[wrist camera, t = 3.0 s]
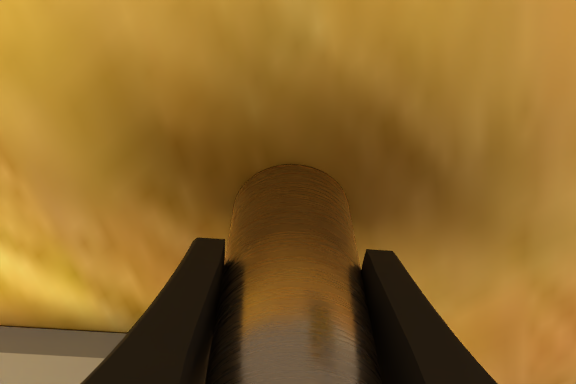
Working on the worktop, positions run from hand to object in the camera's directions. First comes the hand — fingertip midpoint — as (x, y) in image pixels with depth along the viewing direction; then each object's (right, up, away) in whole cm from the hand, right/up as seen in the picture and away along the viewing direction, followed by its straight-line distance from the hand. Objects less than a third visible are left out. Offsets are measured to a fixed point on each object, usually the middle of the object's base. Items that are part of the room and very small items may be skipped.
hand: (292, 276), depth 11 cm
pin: (0, +1, +2) cm, 2 cm away
